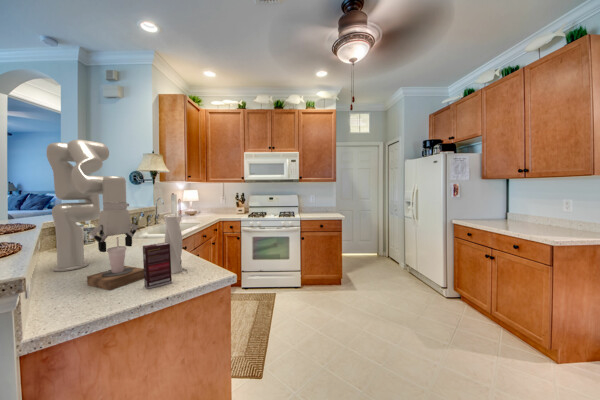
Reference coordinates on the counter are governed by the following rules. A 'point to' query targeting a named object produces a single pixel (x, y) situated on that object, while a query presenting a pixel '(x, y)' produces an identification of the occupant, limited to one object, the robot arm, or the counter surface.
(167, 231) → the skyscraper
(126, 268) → the plinth
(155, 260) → the supplement box
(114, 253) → the smoothie
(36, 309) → the counter surface
